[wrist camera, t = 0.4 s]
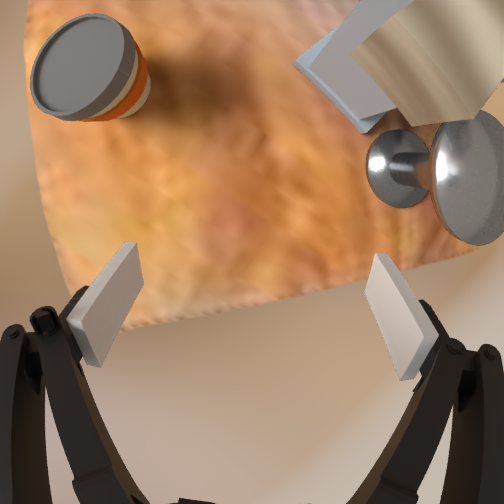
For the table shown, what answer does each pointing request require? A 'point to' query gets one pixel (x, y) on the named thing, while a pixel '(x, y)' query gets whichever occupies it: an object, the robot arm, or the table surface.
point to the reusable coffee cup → (90, 71)
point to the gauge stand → (351, 65)
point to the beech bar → (437, 58)
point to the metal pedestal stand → (446, 175)
